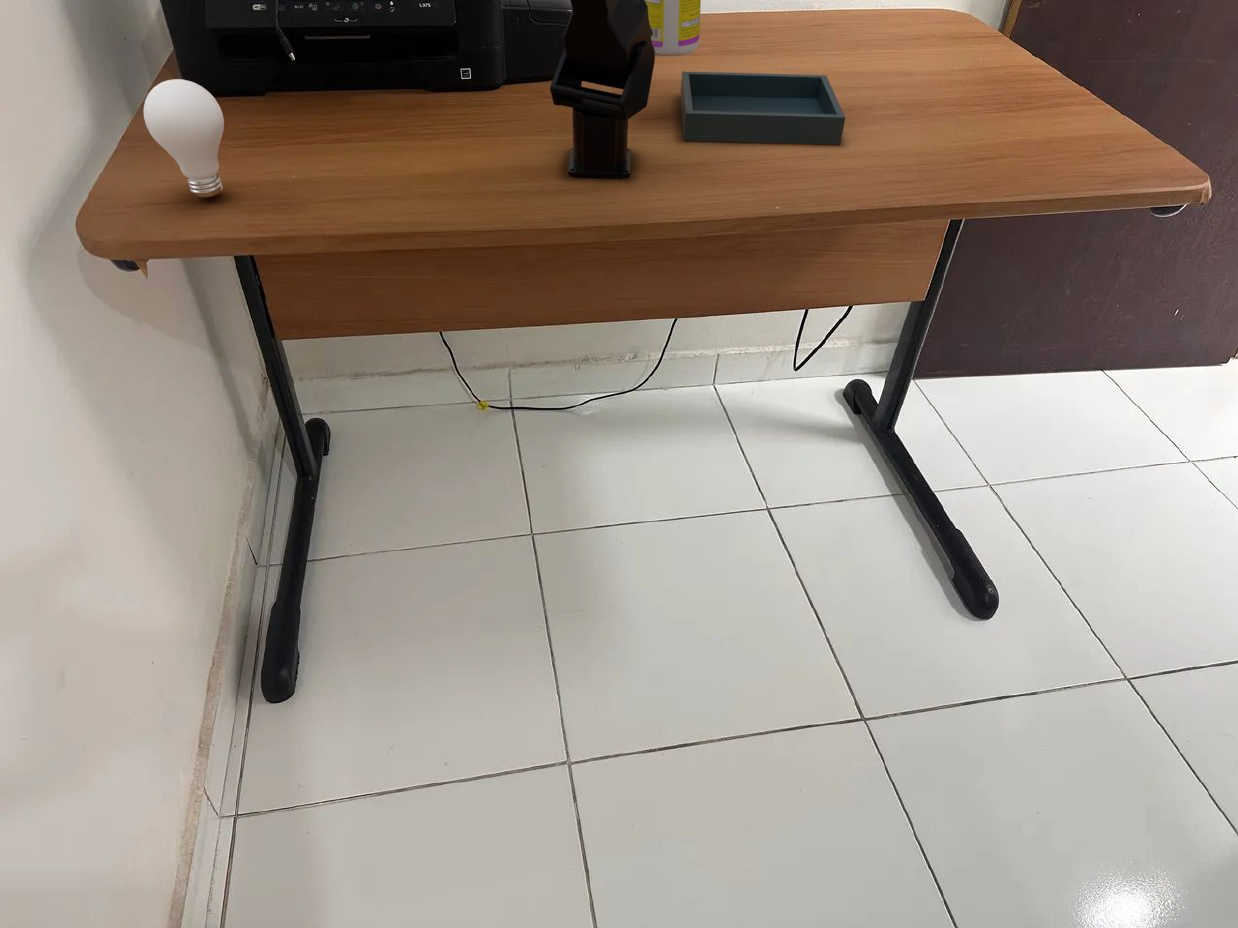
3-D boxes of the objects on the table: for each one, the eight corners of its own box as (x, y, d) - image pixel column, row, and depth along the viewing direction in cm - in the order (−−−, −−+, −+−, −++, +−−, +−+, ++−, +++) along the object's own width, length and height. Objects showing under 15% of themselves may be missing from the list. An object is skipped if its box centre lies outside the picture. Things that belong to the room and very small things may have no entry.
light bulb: (253, 183, 87) (221, 69, 80) (233, 213, 83) (198, 94, 75) (186, 182, 87) (148, 68, 80) (162, 212, 82) (120, 94, 75)
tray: (840, 145, 97) (845, 117, 95) (684, 141, 97) (685, 113, 95) (821, 101, 107) (826, 75, 105) (680, 97, 108) (681, 71, 105)
